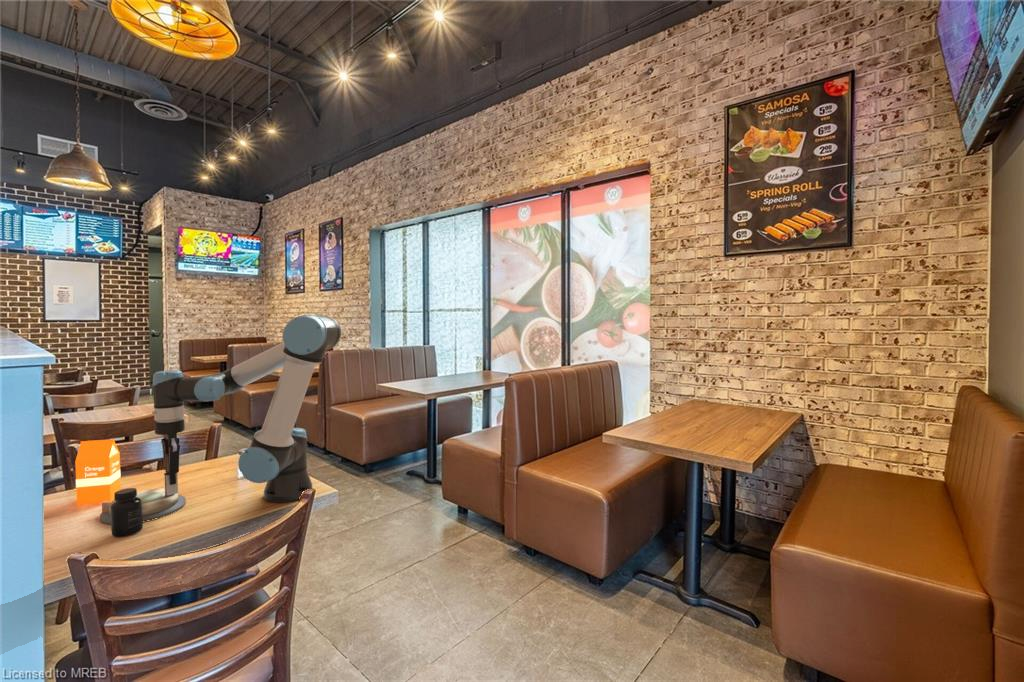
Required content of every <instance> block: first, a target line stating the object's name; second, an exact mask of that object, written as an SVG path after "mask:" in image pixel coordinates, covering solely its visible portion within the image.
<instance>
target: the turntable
mask: <svg viewBox="0 0 1024 682" xmlns="http://www.w3.org/2000/svg"><path fill="white" fill-rule="evenodd" d="M178 495H179V492H178V493H176V494H172V495H167V486H166V476H165V475H164V488H163V487H161V488H151V489H146V490H145V489H144V490H139V491H137V496H136V497H139V498H140V499H141V500H142V516H144V515H149V514H153V513H156V512H159V511H162V510H165V509H167V508H169V507H171V506H173V505H175V504H176V503H177V502H178ZM115 501H116V500H113V501H111V502H110V504H109V505H108V509H109V515H110V506H111V504H112V503H113V502H115ZM110 516H111V515H110Z"/></svg>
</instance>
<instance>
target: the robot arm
mask: <svg viewBox="0 0 1024 682" xmlns="http://www.w3.org/2000/svg"><path fill="white" fill-rule="evenodd" d="M282 331H283V332H282V342H280V343H279V344H277V345H275V346H273V347H270V348H269V349H267V350H265V351H262V352H260V353H258V354H257V355H254V356H252V357H251V358H250V357H249V358H248V359H246V360H245V361H242V362H240V363H238V364H236V365H234V366H233V367H230V368H228V369H226V370H224V371H221V372H219V373H218V372H217V373H214V374H209V375H204V376H192V377H191V376H189V377H188V376H187V377H186V376H184V375H183V374H184V373H183V372H182V370H175V369H174V370H162V371H161V370H160V371H156V372H154V373H153V375H152V385H151V386H152V393H153V394H152V397H153V411H151V415H153V416H154V417H153V418H154V421H155V422H154V434H155V435H157V436H162V437H163V438H161V440H160V443H161V446H162V457H163V467H164V468H163V470H164V471H165V472H164V473H163V475H164V477H165V476H166V486H167V495H172V494H176V493H178V494H179V487H178V486H179V484H178V483H179V482H178V473H179V472H180V449H181V445H180V437H178V435H177V434H178V433H182V432H184V431H185V425H186V424H185V419H184V417H185V405H184V402H206V403H207V402H216V401H219V400H220V399H221V398H222V397H223V396H225V395H229V394H230V395H231V394H235V393H236V392H239V391H241V390H242V389H243V388H244V387H245V386H246V387H247V386H248V385H250V384H251V383H253V382H257V381H258V380H260V379H262V378H263V377H266V376H268V375H270V374H272V373H274V372H276V371H278V370H280V369H281V373H280V376H279V379H278V381H277V384H276V387H275V390H274V393H273V396H272V398H271V401H270V404H269V408H268V410H267V413H266V416H265V419H264V422H263V424H262V426H261V429H260V430H257V431H255V433H254V434H253V437H252V440H251V443H250V446H249V447H248V448H246V449H245V450H244V451H242V452H241V454H240V456H239V458H238V462H237V465H238V469H239V471H240V473H241V474H242V476H243V477H244V478H245V479H246V480H248V481H249V482H251V483H254V484H255V483H256V484H263V483H264V484H265V483H266V484H265V487H264V490H263V499H264V501H267V502H270V503H276V504H277V503H290V502H294V501H298V499H299V497H300V496H301V494H302V492H303V491H305V490H307V489H312V490H313V482H312V480H311V478H310V475H309V472H308V466H307V465H308V461H307V460H308V458H307V457H308V451H307V450H308V444H307V443H308V442H307V441H308V437H307V431H306V429H304V428H301V427H295V425H296V422H297V420H298V416H299V413H300V410H301V407H302V405H303V402H304V400H305V396H306V393H307V391H308V388H309V385H310V382H311V379H312V376H313V373H314V371H315V367H317V366H319V365H320V364H322V363H323V360H324V357H325V355H326V351H328V350H331V349H333V348H335V347H336V345H337V344H338V343H339V342H340V340H341V337H342V329H341V326H340V324H339V322H337V320H336V319H334V318H333V317H331V316H328V315H321V314H320V315H314V314H313V315H312V314H301V315H299V316H296V317H293V318H292V319H290V320H289V321H288V322H287V323H286V325H285V327H284V329H283V330H282ZM299 500H300V499H299Z"/></svg>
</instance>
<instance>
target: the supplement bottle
mask: <svg viewBox="0 0 1024 682" xmlns="http://www.w3.org/2000/svg"><path fill="white" fill-rule="evenodd" d="M137 490H138V489H137V488H135V487H129V488H127V487H126V488H123V489H122V488H121V490H119V491H116V492H115V493H114V500H116V501H115V502H113V503H112V504H111V506H110V515H111V525H110V527H111V528H110V529H111V530H110V531H111V536H112V537H115V538H123V537H124V538H125V537H129V536H132V535H135V534H138V533H139V532H141V530H143V527H144V525H143V523H144V522H143V518H142V500H141V499H140V498H139V497H136V496H137V492H138V491H137Z"/></svg>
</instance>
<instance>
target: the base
mask: <svg viewBox="0 0 1024 682" xmlns="http://www.w3.org/2000/svg"><path fill="white" fill-rule="evenodd" d="M186 500H187V499H186V497H185V496H184V495H181V494H178V502H177V503H176V504H175V505H173V506H171V507H169V508H167V509H165V510H162V511H159V512H156V513H153V514H149V515H144V516H142V518H143V521H147V520H151V521H153V520H152V519H155V518H158V519H161V518H160V517H162V518H164V517H163V516H165V517H167V516H170V515H171V513H172V514H174V513H176V512H178V511H179V509H180V510H181V509H182V508H184V507H185V506H184V505H186V504H185V503H186V502H187V501H186ZM110 503H111V502H110V501H104V502H102V503H101V513H100V514H99V521H100V523H102V524H104V525H107V526H111V516H110V515H109V509H108V505H109V504H110ZM183 506H184V507H183ZM177 510H178V511H177ZM175 511H176V512H175ZM173 512H174V513H173ZM169 514H170V515H169ZM166 515H167V516H166ZM155 520H156V519H155ZM147 522H148V521H147Z"/></svg>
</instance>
